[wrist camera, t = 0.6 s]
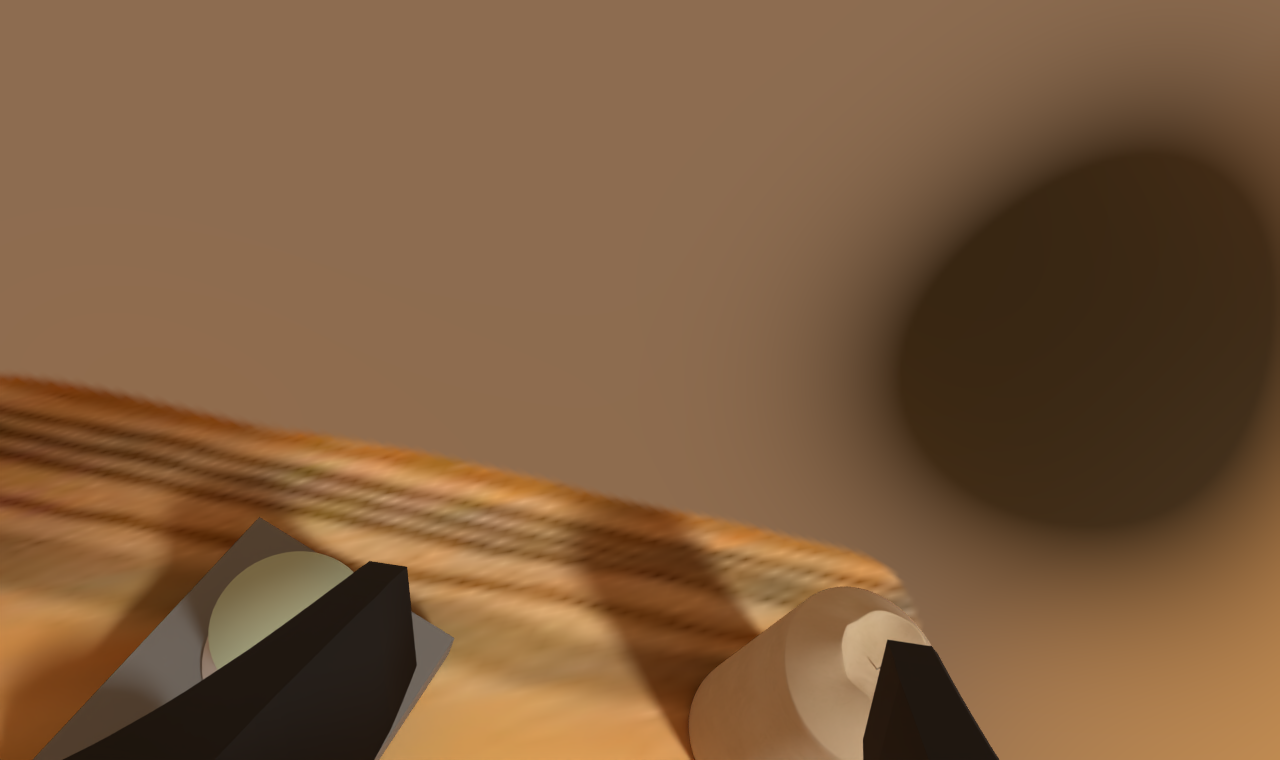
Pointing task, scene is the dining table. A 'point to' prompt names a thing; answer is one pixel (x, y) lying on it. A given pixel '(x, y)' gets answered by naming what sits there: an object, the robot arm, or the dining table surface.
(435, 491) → the dining table surface
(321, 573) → the green button
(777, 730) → the candle
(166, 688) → the button board
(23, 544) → the dining table surface
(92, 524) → the dining table surface
